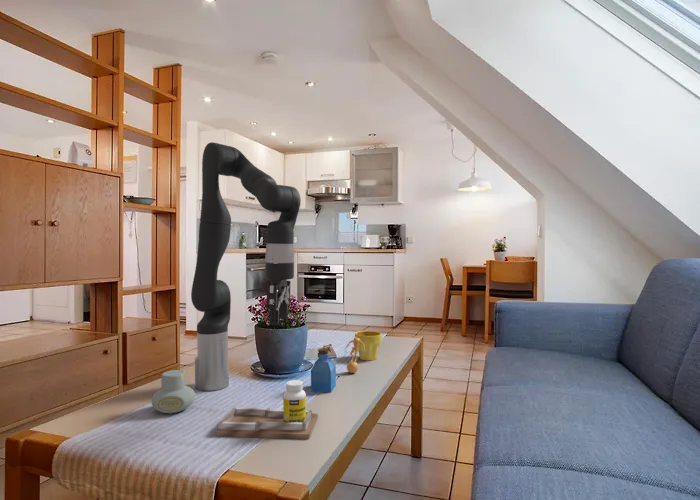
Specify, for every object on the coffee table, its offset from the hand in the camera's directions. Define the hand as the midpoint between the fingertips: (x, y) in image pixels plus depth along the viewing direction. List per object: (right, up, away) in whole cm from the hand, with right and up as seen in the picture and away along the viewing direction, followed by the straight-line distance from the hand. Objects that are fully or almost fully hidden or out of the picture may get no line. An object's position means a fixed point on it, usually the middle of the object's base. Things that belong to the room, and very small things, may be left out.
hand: (278, 321), depth 114 cm
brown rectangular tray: (-1, -24, -9) cm, 26 cm away
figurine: (+20, -23, +34) cm, 46 cm away
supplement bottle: (+6, -23, -10) cm, 26 cm away
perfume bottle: (+11, -24, +18) cm, 31 cm away
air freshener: (-29, -24, +2) cm, 38 cm away
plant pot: (+26, -23, +51) cm, 62 cm away
